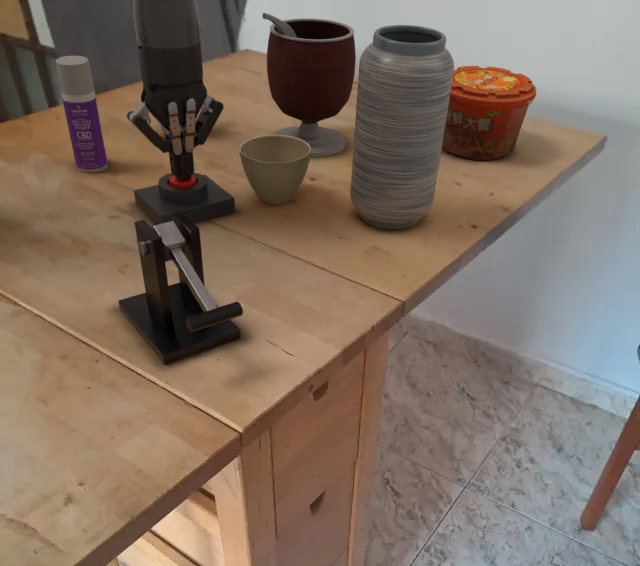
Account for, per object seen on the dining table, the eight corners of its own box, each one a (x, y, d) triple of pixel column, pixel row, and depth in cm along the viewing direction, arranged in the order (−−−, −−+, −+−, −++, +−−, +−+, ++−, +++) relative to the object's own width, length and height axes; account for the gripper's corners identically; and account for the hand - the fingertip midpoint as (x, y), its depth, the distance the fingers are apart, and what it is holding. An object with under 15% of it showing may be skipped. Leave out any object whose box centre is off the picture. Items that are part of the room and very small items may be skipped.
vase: (344, 230, 94) (357, 43, 78) (353, 193, 102) (366, 18, 86) (429, 238, 93) (459, 51, 77) (431, 201, 101) (458, 25, 85)
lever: (241, 321, 68) (244, 306, 66) (191, 338, 66) (193, 323, 64) (186, 233, 72) (188, 216, 70) (137, 246, 70) (137, 229, 67)
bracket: (241, 338, 75) (236, 239, 66) (164, 365, 71) (149, 263, 63) (191, 287, 82) (181, 192, 74) (119, 309, 78) (100, 211, 70)
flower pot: (259, 177, 105) (257, 129, 100) (319, 190, 102) (321, 141, 98) (229, 204, 98) (226, 154, 93) (293, 218, 96) (294, 167, 91)
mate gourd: (319, 122, 123) (324, -7, 109) (366, 149, 115) (377, 12, 101) (244, 138, 116) (239, 2, 103) (288, 167, 108) (289, 24, 94)
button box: (163, 231, 91) (159, 202, 89) (135, 205, 97) (131, 177, 94) (235, 212, 96) (234, 185, 93) (205, 188, 101) (203, 161, 99)
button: (177, 198, 93) (176, 186, 92) (166, 188, 95) (164, 176, 94) (201, 193, 94) (200, 180, 93) (189, 183, 97) (188, 171, 95)
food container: (438, 123, 125) (448, 59, 117) (527, 137, 121) (543, 72, 114) (418, 155, 114) (428, 86, 106) (515, 171, 110) (532, 101, 103)
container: (83, 175, 103) (61, 67, 93) (71, 164, 106) (49, 58, 96) (113, 168, 105) (94, 62, 95) (100, 158, 108) (81, 53, 98)
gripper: (203, 23, 87) (213, 159, 99) (103, 35, 81) (126, 178, 93) (232, 37, 82) (239, 178, 94) (128, 51, 77) (149, 199, 88)
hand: (183, 178), depth 94 cm, fingers closed
